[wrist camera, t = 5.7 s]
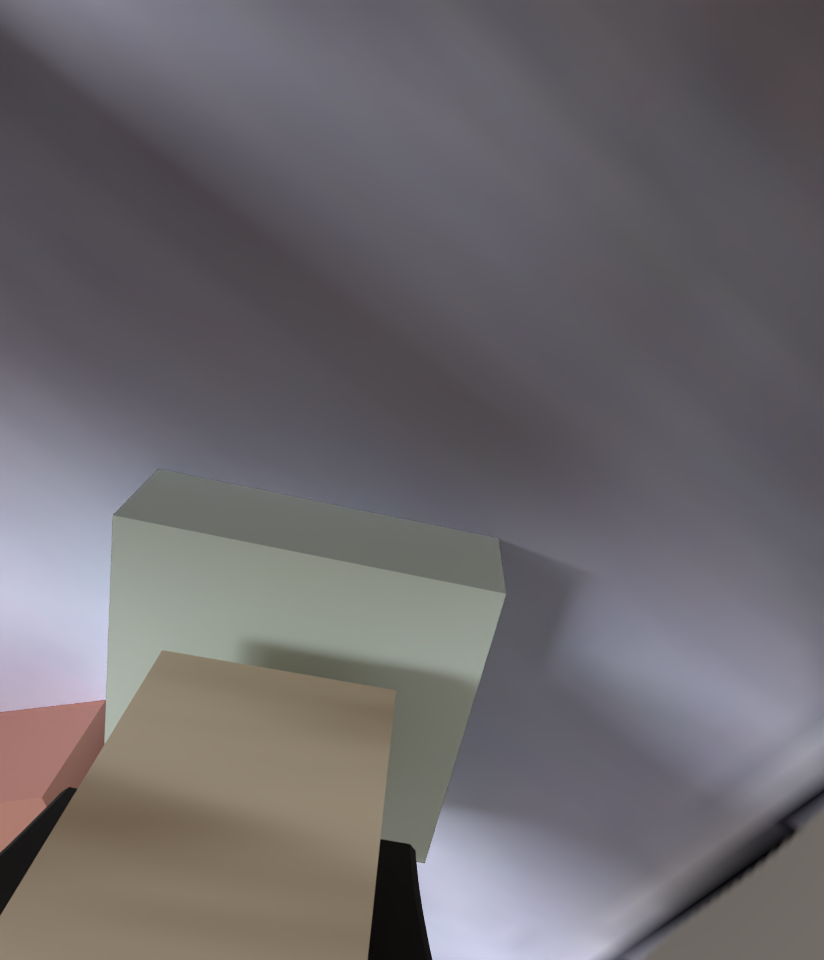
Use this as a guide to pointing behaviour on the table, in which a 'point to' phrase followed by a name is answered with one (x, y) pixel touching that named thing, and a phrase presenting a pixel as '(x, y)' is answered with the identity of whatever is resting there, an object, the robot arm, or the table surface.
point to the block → (44, 758)
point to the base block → (311, 612)
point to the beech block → (217, 824)
